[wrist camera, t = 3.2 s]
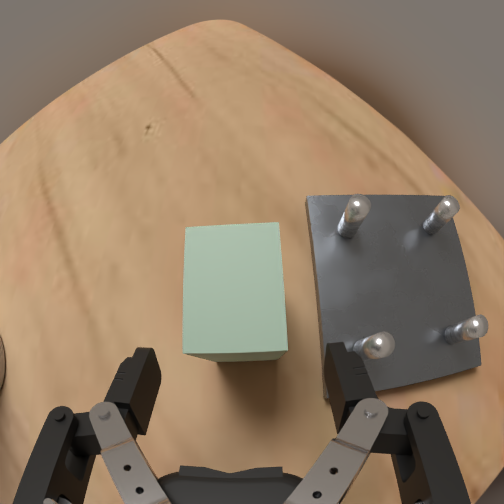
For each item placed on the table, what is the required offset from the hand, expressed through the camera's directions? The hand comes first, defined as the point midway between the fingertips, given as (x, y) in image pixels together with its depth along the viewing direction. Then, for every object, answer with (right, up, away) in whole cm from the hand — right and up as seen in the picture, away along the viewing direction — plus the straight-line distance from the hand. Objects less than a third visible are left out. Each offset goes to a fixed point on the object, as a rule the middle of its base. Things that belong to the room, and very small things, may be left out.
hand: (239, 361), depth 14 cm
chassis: (+12, +2, +10) cm, 16 cm away
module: (0, 0, +9) cm, 9 cm away
